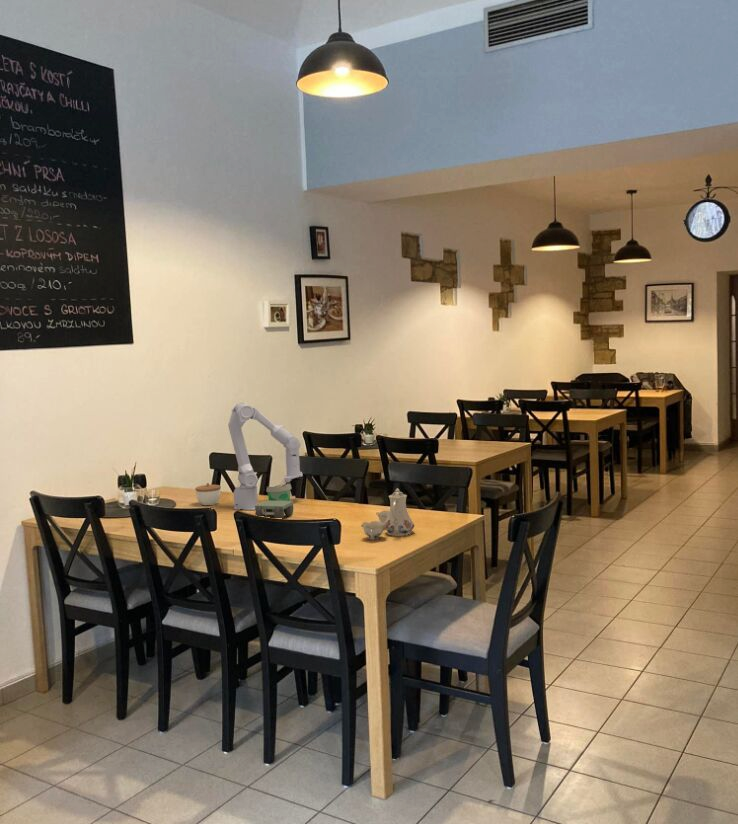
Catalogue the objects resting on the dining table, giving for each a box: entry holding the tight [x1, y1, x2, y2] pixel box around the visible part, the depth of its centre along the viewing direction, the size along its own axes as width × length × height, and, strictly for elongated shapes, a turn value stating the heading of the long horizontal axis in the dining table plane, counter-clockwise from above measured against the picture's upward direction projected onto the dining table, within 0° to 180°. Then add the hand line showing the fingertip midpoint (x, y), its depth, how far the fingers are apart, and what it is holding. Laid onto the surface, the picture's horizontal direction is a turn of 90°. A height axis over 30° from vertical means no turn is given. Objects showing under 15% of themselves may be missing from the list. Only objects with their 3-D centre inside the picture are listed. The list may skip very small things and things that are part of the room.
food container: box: [265, 482, 292, 501], centre depth 335 cm, size 12×6×10 cm, turn 143°
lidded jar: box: [194, 482, 222, 506], centre depth 351 cm, size 11×11×9 cm
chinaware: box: [360, 487, 415, 541], centre depth 286 cm, size 28×17×17 cm, turn 167°
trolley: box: [254, 499, 294, 519], centre depth 318 cm, size 12×15×6 cm
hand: (294, 495), depth 346 cm, fingers closed
